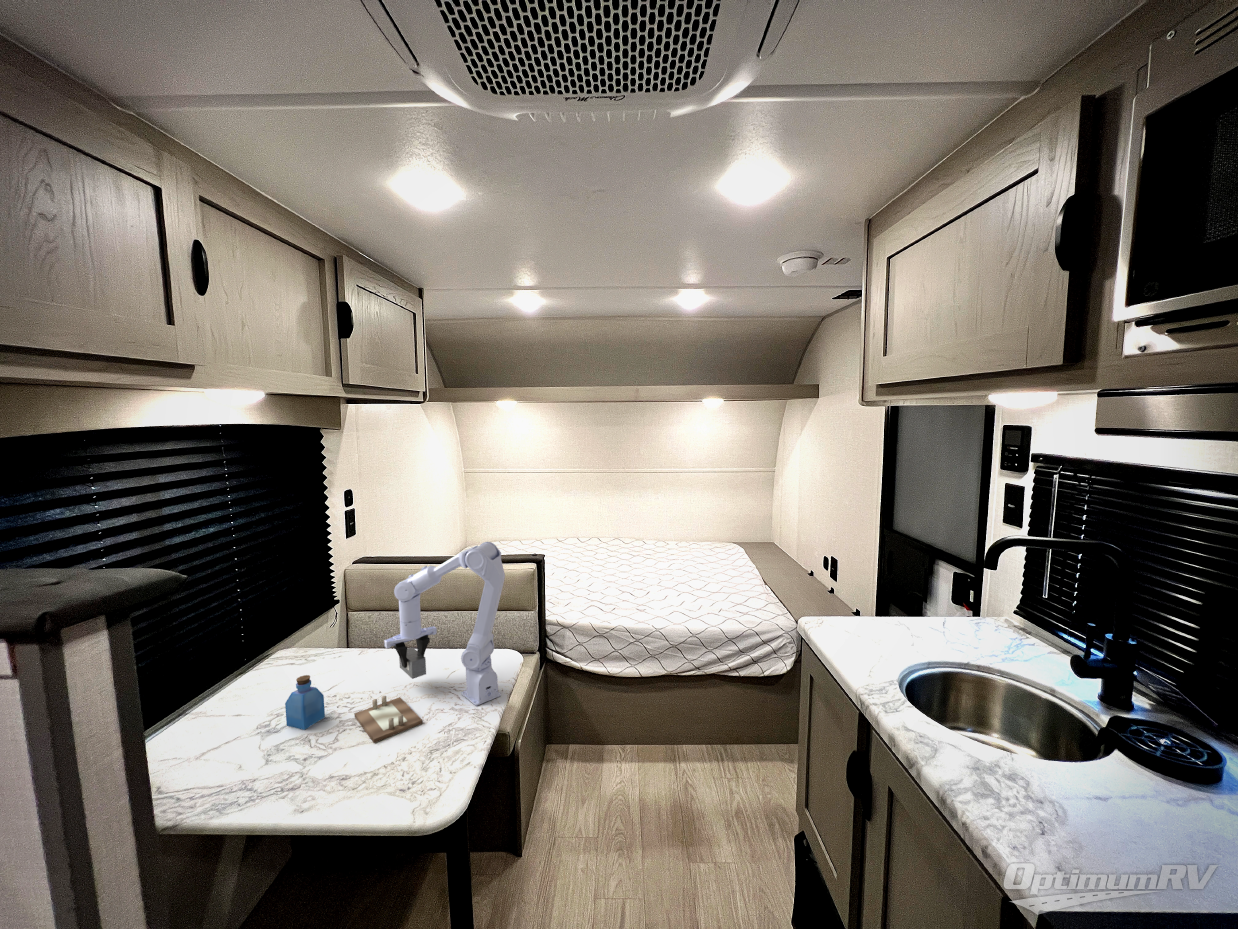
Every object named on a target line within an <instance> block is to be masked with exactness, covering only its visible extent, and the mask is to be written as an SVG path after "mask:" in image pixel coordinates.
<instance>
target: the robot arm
mask: <svg viewBox="0 0 1238 929" xmlns="http://www.w3.org/2000/svg"><path fill="white" fill-rule="evenodd" d="M461 567H462V568H463V569H466V570H467V568H469V569H470V570H471V571H472V572H473V573H475V574H476V575H477V576H479V577H480V578H481V579H482V580H483V581H484V586H483V590H482V593H481V598H480V602H479V606H478V610H477V616H476V619H475V624H474V628H473V631H472V634H471V636H470V638H469V640H468V642H467V645H466V648H465V650H463V652H462V654H461V656H460V659H461V663H462V665H463V666H464V667H465V684H466V685H465V686H466V689H465V690H463V691H461V695H462V696H463V697H464V698H466V699H467V700H468V701H470V702H471V703H472V704H473V705H474V706H479V705H482V704H484V703H486V702H489V701H491V700H494V699H496V698H499V697H501V696H502V694H501V693H500V692H499V682H498V674H497V672H495V670H494V669H493V667H492V665H493V664H492V657H491V656H492V654H493V652H494V650H495V644H494V634H493V633H492V632H493V629H494V625H495V621H496V616H497V612H498V609H499V604H500V599H501V596H502V595H501V594H502V591H503V589H504V588H503V587H504V582H505V579H506V575H505V574H506V573H505V570H504V566H503V562H502V552H501V550H500V549H499V548H498V546H497V545H496V544H494V542H491V541H485V542H482V543H481V544H480V545H475V546H472V547H471V548H467V549H465V550H463V551H461V552H459V553H456V555H454V556H452V557H451V558H449V559H447V560H446V561H444V562H443V563H441V564H439V565H438V566H435V565H429V566H428V565H424V566H423V567H421V568H420V571H417V573H416V572H415V574H413V573H411V574H410V575H408V577H407V578H405V579H404V580H402V581H400V582H398V583H397V584H396V585H395V587H394V590H393V594H394V597H395V598H396V599H397V600H398V613H399V629H400V630H399V631H400V632H399V634H396V635H394V636H392V637H390V638H387V639H384V640H383V641H384V648H386V649H390V648H391V647H393V648H394V649H395V651H396V652H397V654H398V657H400V660H401V663H402V666H403V667H404V668H407V649H408V646H406V643H407V642H411V641H415V642H416V647H417V649H416V650H417V651H418V652H419V653H420V654H422V655H423V656H424V657H425V653H426V650H427V648H428V645H429V644H430V641H431V638H430V636H431V635H432V636H435V635H437V627H436V626H434V625H433V626H429V627H423V628H422V617H421V615H422V614H421V613H422V612H421V594H422V593H424V592H425V591H427V590H429V589H431V588H433V587H435V586H436V585H438V584H440V583H441V581H442V577H443V576H444V575H446V574H448V573H451V572H453V571H455V570H456V569H458V568H461Z"/></svg>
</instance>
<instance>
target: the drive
mask: <svg viewBox="0 0 1238 929" xmlns="http://www.w3.org/2000/svg"><path fill="white" fill-rule="evenodd" d="M398 657H399V656H398ZM398 660H399V668H400V669H401V670H402V671H403V672H404V673H405V674H406V675H408V676H409V677H410V678H411V679H412V680H413V679H416V678H420V677H423V676H425V675H427V662H426V661H427V660H426V657H425V655H424V656H423V655H422V654H420V653H419V652H418V651H417V649H416V648H414V647H413V646H411V647H407V668H404V667H403V666H402V663H401V660H400V657H399V659H398Z"/></svg>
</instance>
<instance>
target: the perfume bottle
mask: <svg viewBox="0 0 1238 929" xmlns="http://www.w3.org/2000/svg"><path fill="white" fill-rule="evenodd" d="M295 688H296V690H294V691H292V692H291V693H290V695H289V696H288V698H287V699H286V701H285V703H284V705H285V708H284V709H285V720H286V721H285V722H286V727H289V728H290V727H291V728H292V729H293V728H294V729H299V730H302V731H306V730H307V729H308V728H310V727H311V726H313V725H315V724H316V723H319V721H321V720H322V719H325V718H326V713H325V712H326V709H325V696H324V693H323V692H321V691H320V690H319V689H318V687H316V686H312V680H311V675H309V674H306V675H301V676H299V677H296V683H295Z"/></svg>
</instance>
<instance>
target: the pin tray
mask: <svg viewBox="0 0 1238 929" xmlns="http://www.w3.org/2000/svg"><path fill="white" fill-rule="evenodd" d="M371 702H372V704H371V705H372V706H371V707H369V708H366V709H363V710H360V711H356V712H355V713H354V718H355V719H356V721H357V723H358V724H359V725H360V726H361V728H362V730H364V732H365V733H366V735H367V736H368V737H369V739H370V740H371V741H372V743H373V744H376V743H377V742H380V741H383V740H385V739H389V738H390V737H392V736H395V735H398V734H399V733H403V732H405V731H408V730H410V729H413V728H415V727H418V726H419V725H422V724H423V719H422V718H421V717H420V716H419V715H418V714H417V713H416V712H415V711H414V710H413V709H412V708H411V707H410V706H409V704H407V702H405V701H404V699H403V698H402V697H401V696H400V697H396V698H394V699H391V700H388V701H387V696H386V695H383V696H381V703H380V704H378V699H377V698H374V699H373V700H372V701H371Z"/></svg>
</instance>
